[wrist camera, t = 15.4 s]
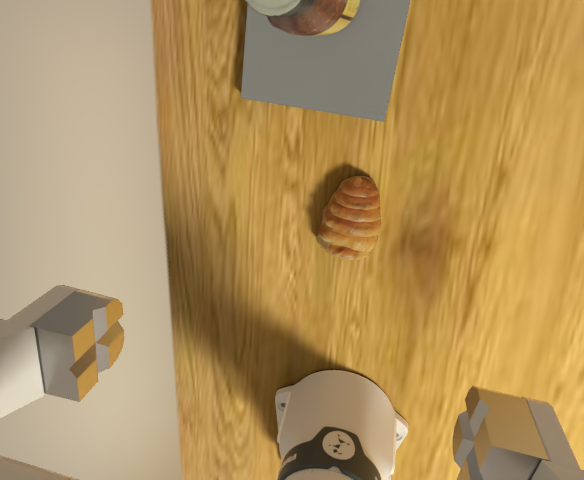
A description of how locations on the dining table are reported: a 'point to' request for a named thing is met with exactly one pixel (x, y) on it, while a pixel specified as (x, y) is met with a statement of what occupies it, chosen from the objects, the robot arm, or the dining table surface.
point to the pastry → (351, 219)
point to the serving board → (327, 62)
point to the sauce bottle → (307, 15)
